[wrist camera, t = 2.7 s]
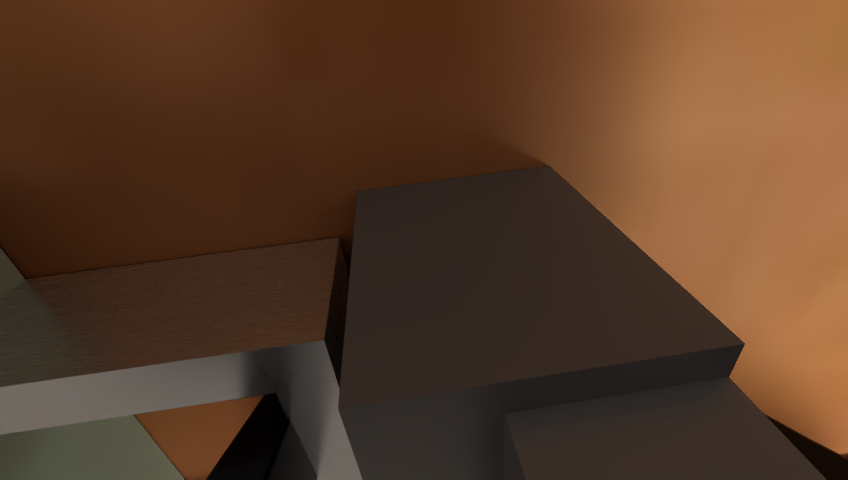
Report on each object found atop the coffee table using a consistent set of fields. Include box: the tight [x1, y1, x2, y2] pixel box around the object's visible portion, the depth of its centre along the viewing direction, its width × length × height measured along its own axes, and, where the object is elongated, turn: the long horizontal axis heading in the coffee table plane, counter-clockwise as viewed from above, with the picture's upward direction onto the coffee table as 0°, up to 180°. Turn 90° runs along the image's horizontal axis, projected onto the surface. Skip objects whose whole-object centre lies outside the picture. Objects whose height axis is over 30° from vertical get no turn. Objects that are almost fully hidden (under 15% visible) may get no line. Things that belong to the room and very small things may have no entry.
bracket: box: [0, 237, 362, 480], centre depth 10 cm, size 6×11×3 cm, turn 5°
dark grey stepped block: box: [338, 166, 827, 480], centre depth 7 cm, size 4×7×6 cm, turn 6°
